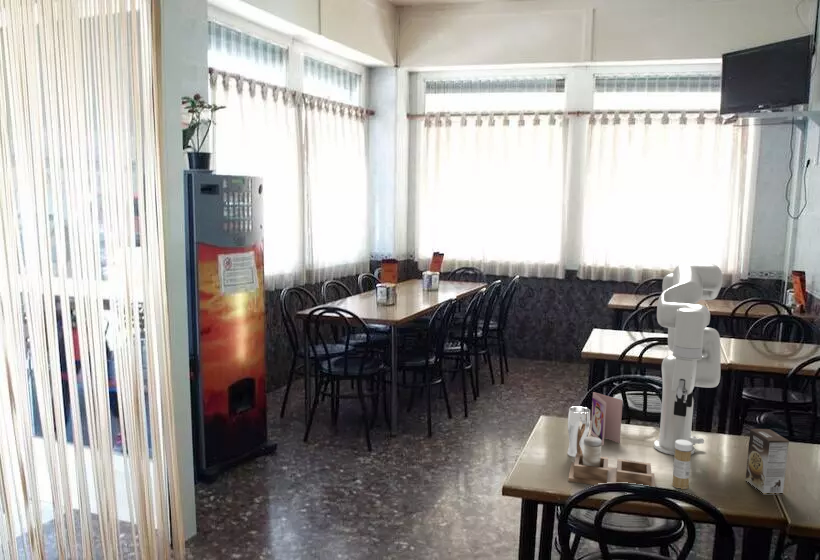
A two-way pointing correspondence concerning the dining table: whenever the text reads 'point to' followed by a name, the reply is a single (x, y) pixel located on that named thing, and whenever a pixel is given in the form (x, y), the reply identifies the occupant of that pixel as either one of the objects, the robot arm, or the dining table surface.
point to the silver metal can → (578, 429)
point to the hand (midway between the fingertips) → (682, 410)
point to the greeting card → (606, 417)
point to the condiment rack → (597, 471)
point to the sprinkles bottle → (682, 464)
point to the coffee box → (767, 460)
